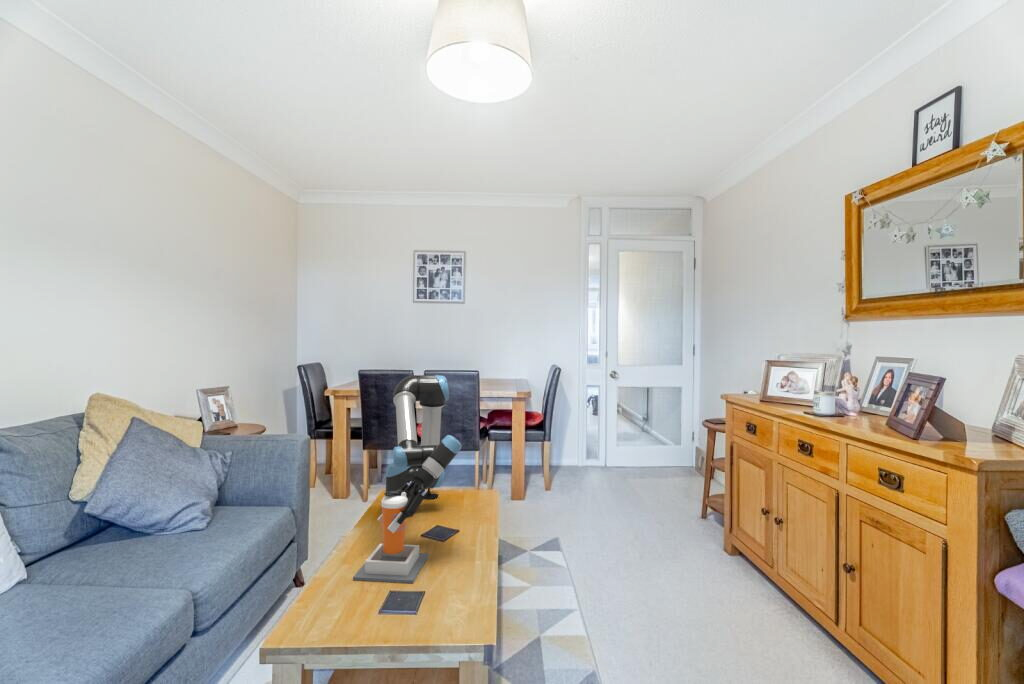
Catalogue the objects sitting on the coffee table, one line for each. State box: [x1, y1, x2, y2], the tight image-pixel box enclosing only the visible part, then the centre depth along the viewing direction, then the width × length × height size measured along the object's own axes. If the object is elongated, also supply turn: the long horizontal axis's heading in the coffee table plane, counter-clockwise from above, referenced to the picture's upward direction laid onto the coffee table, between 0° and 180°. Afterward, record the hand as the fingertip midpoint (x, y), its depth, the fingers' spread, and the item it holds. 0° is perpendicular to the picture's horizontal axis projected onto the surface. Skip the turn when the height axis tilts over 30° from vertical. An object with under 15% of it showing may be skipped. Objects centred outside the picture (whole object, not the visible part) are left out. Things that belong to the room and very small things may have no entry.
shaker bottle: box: [380, 489, 408, 554], centre depth 160 cm, size 9×9×20 cm
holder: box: [352, 542, 429, 584], centre depth 160 cm, size 20×20×5 cm
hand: (385, 526), depth 158 cm, fingers closed on shaker bottle, 9 cm apart
